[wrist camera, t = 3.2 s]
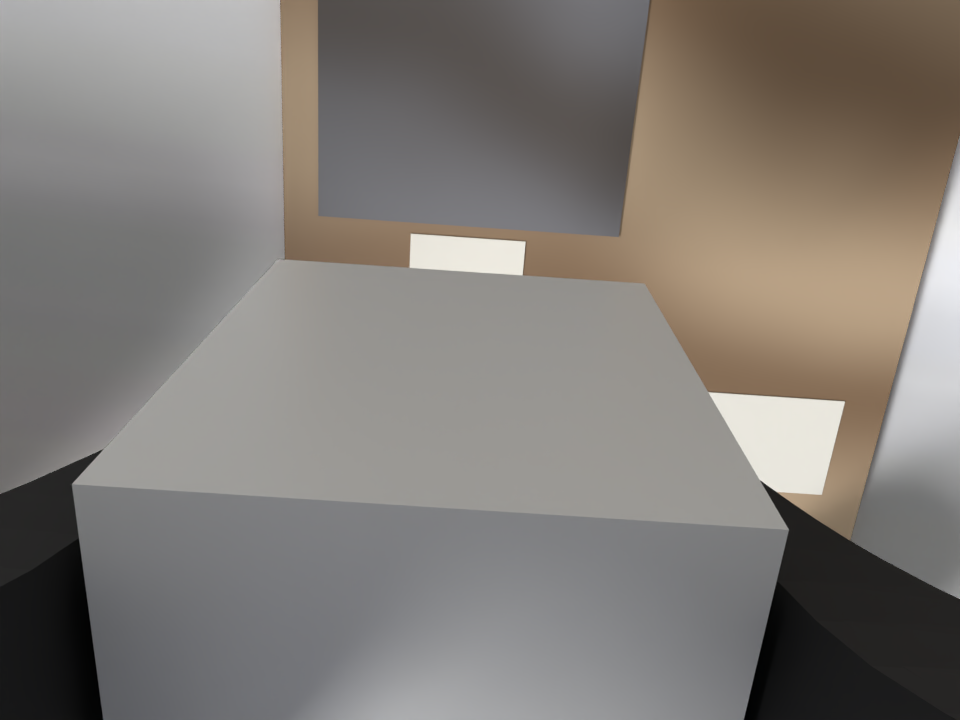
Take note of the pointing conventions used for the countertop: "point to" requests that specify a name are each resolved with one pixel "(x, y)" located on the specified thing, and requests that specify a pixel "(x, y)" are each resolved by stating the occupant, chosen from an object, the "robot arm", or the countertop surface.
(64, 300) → the countertop surface
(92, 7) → the countertop surface
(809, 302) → the board
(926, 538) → the countertop surface
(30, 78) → the countertop surface
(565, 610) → the grey block
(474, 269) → the letter T
